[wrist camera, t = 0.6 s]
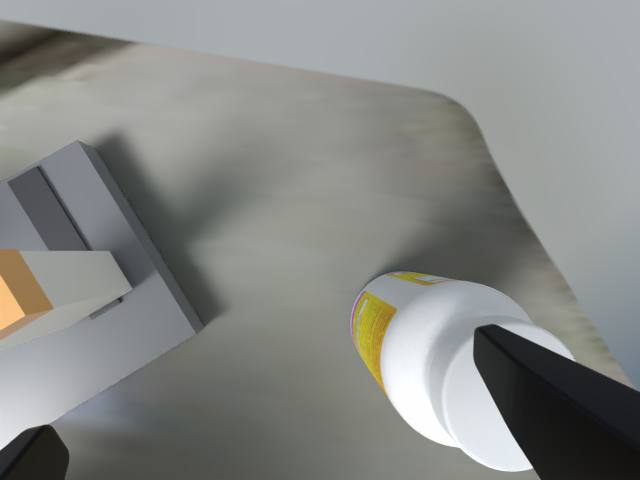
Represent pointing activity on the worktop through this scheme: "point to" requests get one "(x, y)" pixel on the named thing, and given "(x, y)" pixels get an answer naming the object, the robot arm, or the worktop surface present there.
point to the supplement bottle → (441, 358)
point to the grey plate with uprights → (104, 324)
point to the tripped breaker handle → (53, 290)
